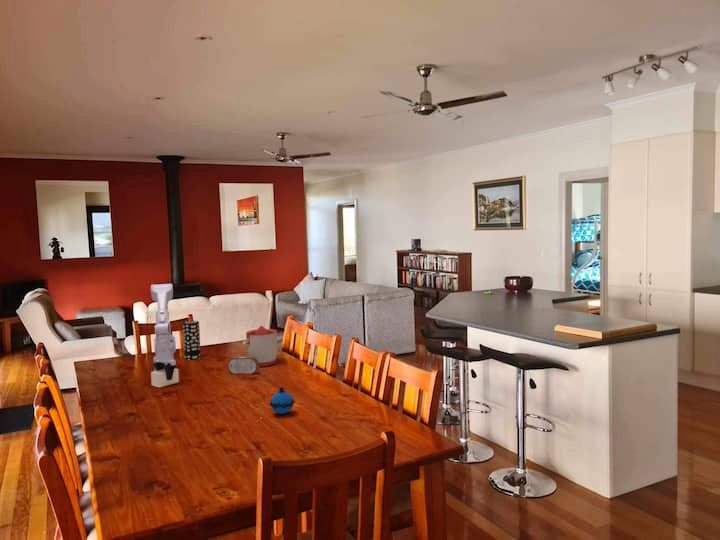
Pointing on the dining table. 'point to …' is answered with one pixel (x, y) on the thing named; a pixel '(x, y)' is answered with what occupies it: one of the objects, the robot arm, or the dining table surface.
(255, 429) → the dining table surface
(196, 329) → the white-spotted black cylinder
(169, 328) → the robot arm
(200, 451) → the dining table surface
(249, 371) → the tin
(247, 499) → the dining table surface
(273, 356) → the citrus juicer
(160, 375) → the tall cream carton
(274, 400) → the ornament
